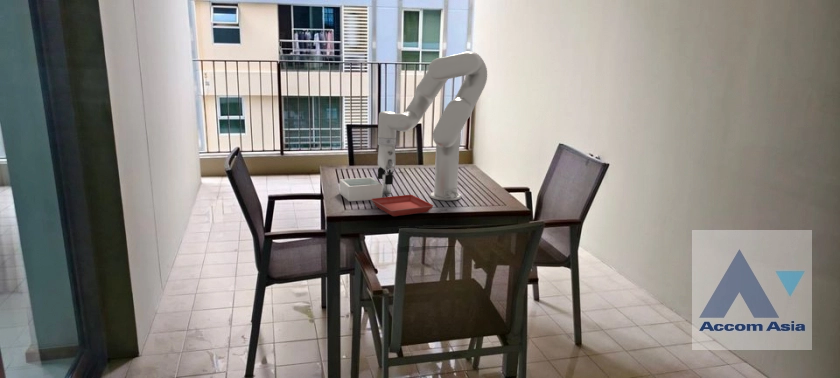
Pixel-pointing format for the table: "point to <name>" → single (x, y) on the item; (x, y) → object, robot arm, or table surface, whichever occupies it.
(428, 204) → the plant saucer
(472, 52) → the robot arm
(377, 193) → the walled box
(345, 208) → the table surface
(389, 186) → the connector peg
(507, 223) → the table surface
